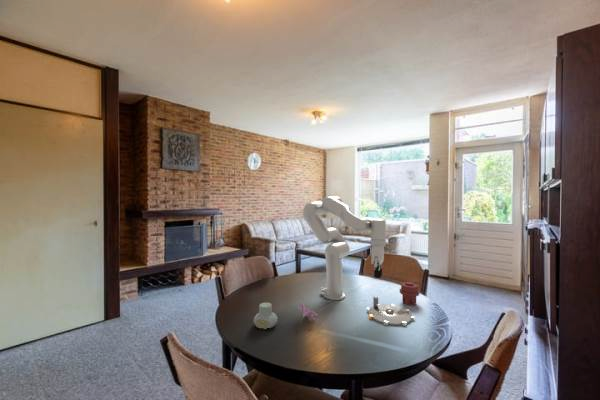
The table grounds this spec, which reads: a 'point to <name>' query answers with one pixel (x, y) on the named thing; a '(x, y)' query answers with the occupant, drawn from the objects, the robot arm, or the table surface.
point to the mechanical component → (409, 293)
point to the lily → (306, 311)
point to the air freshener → (265, 316)
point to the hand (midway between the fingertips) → (378, 276)
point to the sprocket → (389, 314)
